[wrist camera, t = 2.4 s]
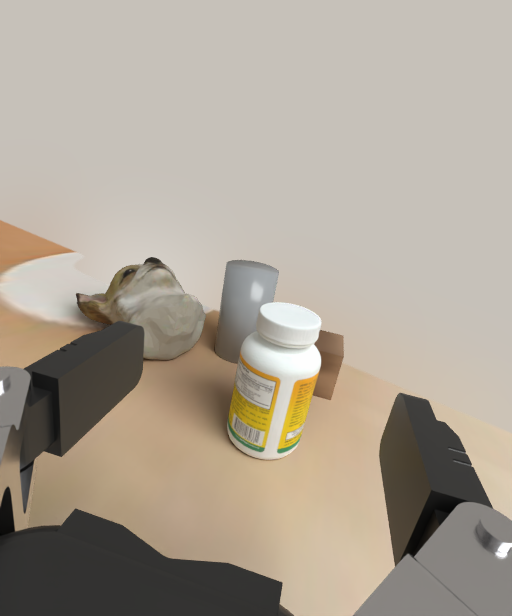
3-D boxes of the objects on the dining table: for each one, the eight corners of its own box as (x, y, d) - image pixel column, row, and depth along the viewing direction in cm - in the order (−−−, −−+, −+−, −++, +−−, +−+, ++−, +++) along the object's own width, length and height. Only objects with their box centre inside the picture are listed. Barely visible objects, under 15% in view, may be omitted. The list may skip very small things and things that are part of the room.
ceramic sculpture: (124, 280, 25) (68, 240, 35) (121, 387, 28) (70, 320, 38) (242, 274, 32) (165, 242, 42) (230, 360, 34) (161, 310, 45)
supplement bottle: (227, 460, 23) (251, 327, 19) (225, 407, 28) (244, 293, 24) (307, 465, 23) (344, 337, 20) (291, 412, 28) (319, 303, 25)
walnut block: (281, 387, 32) (291, 343, 30) (288, 363, 36) (297, 324, 34) (330, 401, 31) (343, 356, 29) (331, 375, 35) (343, 335, 34)
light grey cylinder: (207, 355, 34) (219, 267, 31) (223, 335, 39) (235, 257, 36) (256, 368, 34) (273, 280, 30) (266, 346, 38) (282, 267, 35)
